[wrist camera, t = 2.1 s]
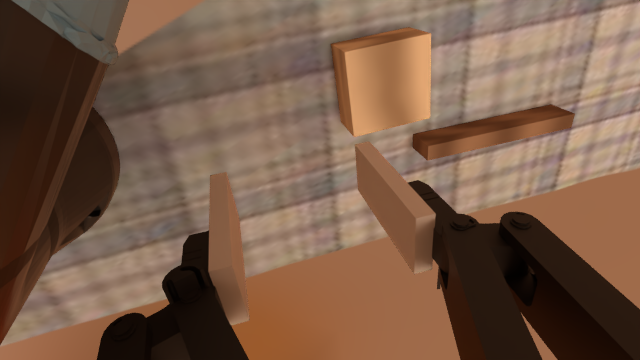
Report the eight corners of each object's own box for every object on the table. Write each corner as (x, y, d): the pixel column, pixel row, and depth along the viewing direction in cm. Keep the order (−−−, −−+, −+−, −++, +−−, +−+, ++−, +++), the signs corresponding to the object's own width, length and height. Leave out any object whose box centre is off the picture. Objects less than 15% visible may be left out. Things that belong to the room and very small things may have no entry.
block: (340, 120, 34) (353, 136, 31) (330, 43, 30) (344, 52, 27) (409, 103, 35) (430, 117, 32) (407, 26, 31) (430, 33, 28)
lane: (413, 147, 37) (427, 160, 35) (417, -33, 29) (437, -33, 26) (548, 117, 40) (571, 127, 37) (587, -56, 31) (620, -59, 29)
